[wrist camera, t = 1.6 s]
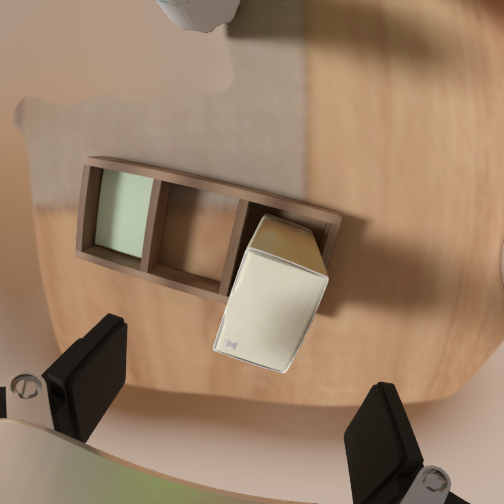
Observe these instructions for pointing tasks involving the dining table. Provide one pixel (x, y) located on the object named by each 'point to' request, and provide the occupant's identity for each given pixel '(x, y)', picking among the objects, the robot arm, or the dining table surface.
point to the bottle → (199, 13)
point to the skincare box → (273, 296)
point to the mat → (123, 211)
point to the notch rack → (158, 203)
